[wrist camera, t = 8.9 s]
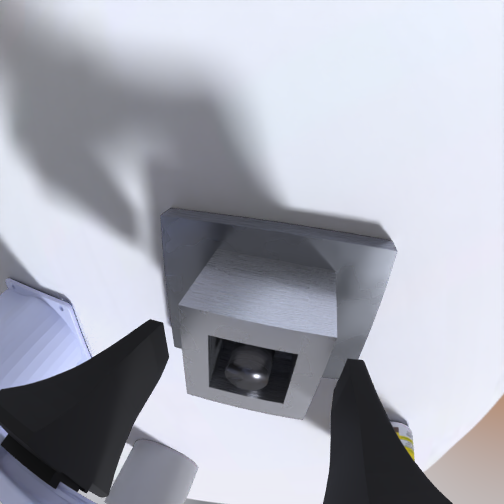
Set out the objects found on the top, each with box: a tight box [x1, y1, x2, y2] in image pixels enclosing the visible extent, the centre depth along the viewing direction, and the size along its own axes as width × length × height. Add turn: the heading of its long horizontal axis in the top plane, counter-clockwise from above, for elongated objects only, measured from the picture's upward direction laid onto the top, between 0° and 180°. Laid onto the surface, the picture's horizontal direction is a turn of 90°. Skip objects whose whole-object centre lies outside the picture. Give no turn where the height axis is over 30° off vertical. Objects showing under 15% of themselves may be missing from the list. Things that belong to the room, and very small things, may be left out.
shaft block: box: [161, 208, 397, 390], centre depth 12 cm, size 10×8×5 cm
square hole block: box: [178, 249, 337, 420], centre depth 12 cm, size 5×5×4 cm
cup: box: [105, 439, 198, 504], centre depth 25 cm, size 8×8×10 cm
